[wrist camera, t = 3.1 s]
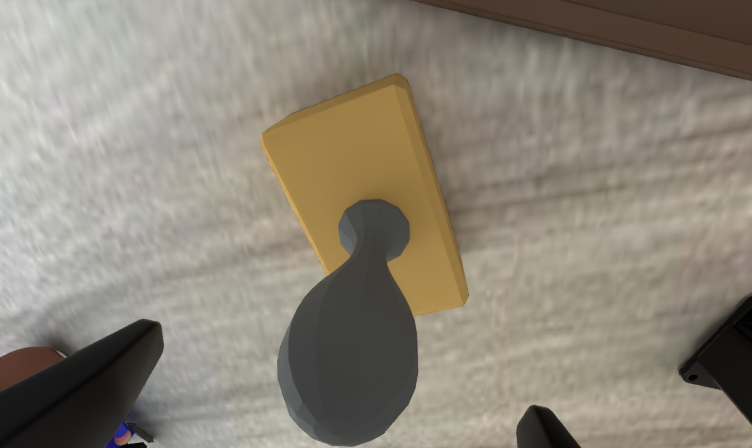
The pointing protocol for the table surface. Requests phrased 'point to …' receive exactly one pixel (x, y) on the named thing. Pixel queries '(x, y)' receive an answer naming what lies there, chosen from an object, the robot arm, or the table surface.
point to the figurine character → (37, 358)
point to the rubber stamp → (362, 258)
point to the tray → (637, 27)
